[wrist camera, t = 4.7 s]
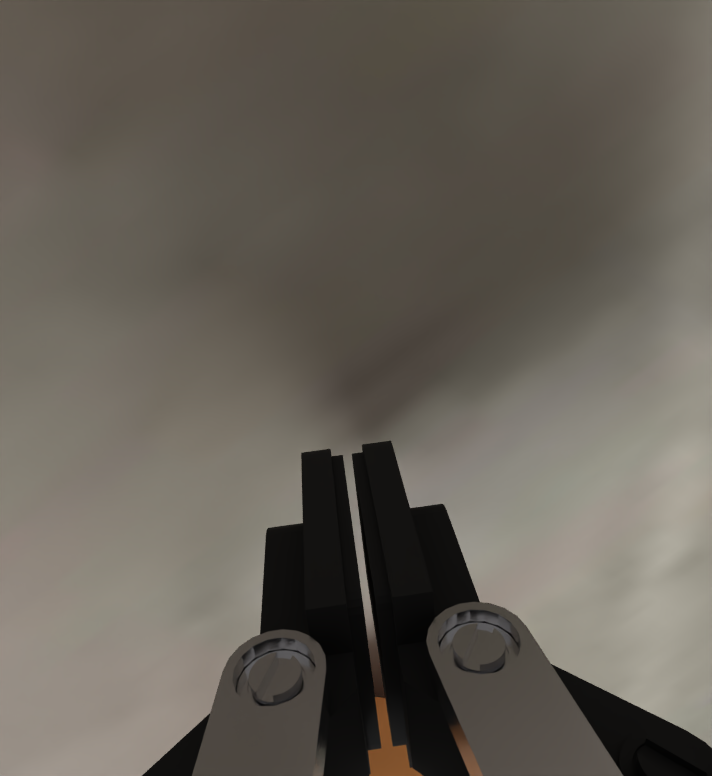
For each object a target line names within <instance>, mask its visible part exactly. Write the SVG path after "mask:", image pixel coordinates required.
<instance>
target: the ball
mask: <svg viewBox="0 0 712 776" xmlns="http://www.w3.org/2000/svg"><path fill="white" fill-rule="evenodd" d="M375 702H376V709H377V717H378V725H379V732H380V740H381V749H374V750H368V754H369V763H370V772H371V774H370V775H369V776H423V775H422V774H420V773H419V772H417V771H416V770H415V769H413V767H412V768H410V766H409V760H408V754H407V748H406V745H401V746H394V747H393V745H392V739H391V732H390V726H389V719H388V713H387V706H386V699H385V698H381V697H375Z"/></svg>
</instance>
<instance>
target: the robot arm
mask: <svg viewBox="0 0 712 776" xmlns="http://www.w3.org/2000/svg"><path fill="white" fill-rule="evenodd" d="M362 450H363V452H362V453H354V454H352V460H353V468H354V476H355V484H356V492H357V500H358V508H359V517H360V525H361V533H362V541H363V549H364V557H365V565H366V573H367V580H368V587H369V594H370V600H371V607H372V614H373V620H374V627H375V633H376V640H377V647H378V653H379V660H380V666H381V673H382V680H383V686H384V693H385V699H386V706H387V713H388V719H389V726H390V732H391V739H392V745H393V747H394V746H401V745H406V748H407V754H408V760H409V766H410V768H412V767H413V769H415V770H416V771H417V772H419V773H420V774H422V775H423V776H712V748H711V747H710V746H709V745H707V744H706V743H705V742H704V741H702V740H701V739H699V738H697V737H696V736H694V735H693V734H691V733H689V732H688V731H686V730H684V729H682V728H680V727H678V726H676V725H674V724H672V723H670V722H668V721H666V720H664V719H662V718H660V717H658V716H656V715H653V714H651V713H649V712H647V711H645V710H643V709H641V708H639V707H637V706H635V705H633V704H631V703H629V702H627V701H625V700H623V699H621V698H619V697H617V696H615V695H613V694H611V693H609V692H607V691H605V690H603V689H601V688H599V687H597V686H595V685H593V684H591V683H588V682H586V681H584V680H582V679H580V678H578V677H576V676H574V675H572V674H570V673H568V672H566V671H564V670H562V669H560V668H558V667H556V666H554V665H552V664H551V663H550V662H549V660H548V659H547V657H546V656H545V654H544V653H543V651H542V649H541V648H540V646H539V645H538V643H537V642H536V640H535V639H534V637H533V636H532V634H531V633H530V631H529V629H528V628H527V626H526V625H525V624H524V623H523V622H522V621H521V620H520V619H519V618H518V616H516V615H515V614H513V613H512V612H510V611H508V610H507V609H505V608H503V607H500V606H497V605H494V604H491V603H482V602H480V601H479V599H478V596H477V593H476V590H475V588H474V585H473V582H472V579H471V577H470V574H469V571H468V568H467V566H466V563H465V560H464V557H463V555H462V552H461V549H460V546H459V544H458V541H457V538H456V535H455V532H454V530H453V527H452V524H451V521H450V519H449V516H448V513H447V510H446V508H445V506H444V505H443V504H438V505H431V506H424V507H416V508H410V507H409V503H408V500H407V496H406V493H405V489H404V485H403V482H402V478H401V475H400V471H399V467H398V464H397V460H396V457H395V453H394V449H393V446H392V443H391V441H386V442H378V443H371V444H363V445H362ZM301 459H302V501H303V523H301V524H294V525H287V526H279V527H272V528H268V529H267V532H266V545H265V562H264V579H263V596H262V613H261V630H260V635H258V636H255V637H252V638H251V639H250V640H248V641H247V642H245V643H244V644H242V645H241V646H239V647H238V649H237V650H236V651H235V652H234V653H233V654H232V655H231V656H230V658H229V659H228V661H227V663H226V666H225V668H224V670H223V672H222V676H221V679H220V682H219V686H218V689H217V692H216V696H215V699H214V703H213V706H212V709H211V713H210V714H209V715H208V716H207V717H205V718H204V719H203V720H202V721H201V722H200V723H199V724H198V725H197V726H196V727H195V728H193V729H192V730H191V731H190V732H189V733H188V734H187V735H186V736H185V737H184V738H183V739H182V740H180V741H179V742H178V743H177V744H176V745H175V746H174V747H173V748H172V749H171V750H170V751H168V752H167V753H166V754H165V755H164V756H163V757H162V758H161V759H160V760H159V761H158V762H156V763H155V764H154V765H153V766H152V767H151V768H150V769H149V770H148V771H147V772H146V773H144V774H143V775H142V776H369V775H370V774H371V772H370V763H369V754H368V750H374V749H381V740H380V732H379V725H378V717H377V709H376V702H375V694H374V686H373V678H372V671H371V663H370V655H369V648H368V640H367V632H366V624H365V617H364V609H363V601H362V594H361V587H360V579H359V572H358V564H357V557H356V550H355V542H354V535H353V528H352V520H351V513H350V506H349V498H348V491H347V484H346V476H345V469H344V461H343V455H339V456H332V457H331V450H330V449H326V450H319V451H311V452H304V453H301Z"/></svg>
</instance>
